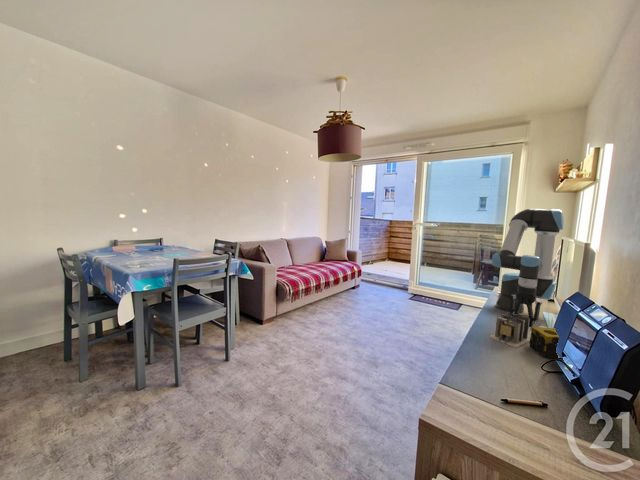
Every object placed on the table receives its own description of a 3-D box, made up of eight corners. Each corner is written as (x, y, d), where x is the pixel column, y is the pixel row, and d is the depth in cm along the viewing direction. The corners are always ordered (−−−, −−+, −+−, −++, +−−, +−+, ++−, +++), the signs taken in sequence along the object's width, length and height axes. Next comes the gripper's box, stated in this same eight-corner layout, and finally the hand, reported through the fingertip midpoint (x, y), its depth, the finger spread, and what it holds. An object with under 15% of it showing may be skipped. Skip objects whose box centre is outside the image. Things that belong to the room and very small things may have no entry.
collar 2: (505, 332, 142) (507, 311, 141) (527, 340, 134) (529, 318, 133) (504, 332, 141) (507, 312, 140) (526, 340, 133) (528, 318, 132)
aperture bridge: (497, 336, 137) (499, 316, 135) (518, 344, 129) (520, 323, 128) (494, 337, 135) (496, 317, 134) (515, 345, 128) (518, 324, 127)
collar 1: (499, 334, 139) (502, 313, 137) (521, 342, 131) (524, 320, 129) (498, 335, 138) (501, 314, 137) (520, 343, 130) (523, 321, 129)
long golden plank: (520, 324, 145) (521, 316, 144) (530, 327, 141) (531, 319, 140) (500, 333, 133) (501, 324, 132) (510, 337, 129) (511, 327, 128)
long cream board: (524, 321, 157) (525, 316, 157) (550, 329, 147) (551, 324, 147) (489, 337, 135) (490, 331, 135) (517, 348, 125) (517, 341, 125)
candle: (551, 348, 126) (554, 327, 125) (569, 360, 116) (572, 337, 115) (528, 346, 127) (530, 326, 126) (543, 358, 117) (546, 335, 116)
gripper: (504, 282, 144) (499, 325, 146) (545, 291, 129) (539, 339, 132) (511, 281, 148) (506, 322, 150) (551, 289, 133) (545, 335, 136)
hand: (521, 330), depth 141 cm, fingers closed on long golden plank, 4 cm apart
